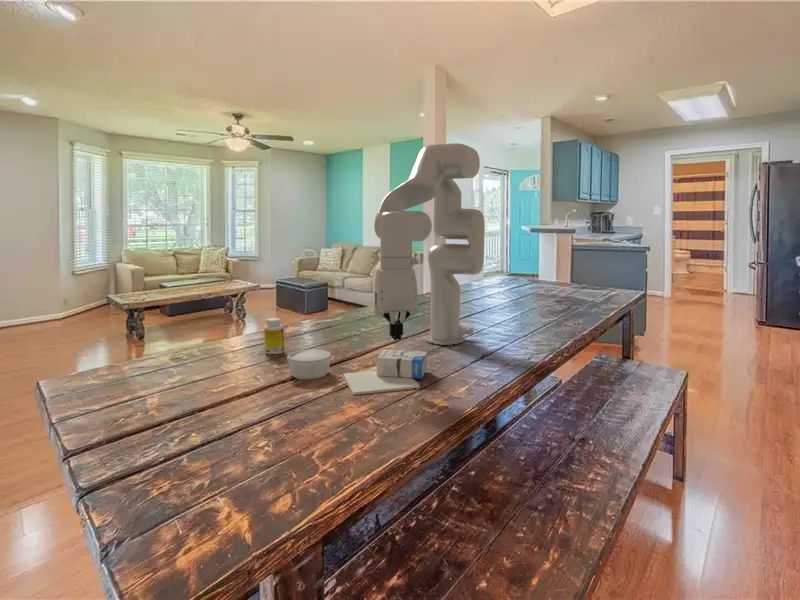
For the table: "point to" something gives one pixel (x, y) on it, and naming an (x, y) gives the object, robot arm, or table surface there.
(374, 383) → the rubber mat
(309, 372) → the ramekin
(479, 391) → the table surface
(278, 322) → the supplement bottle
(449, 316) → the robot arm
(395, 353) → the ink box
